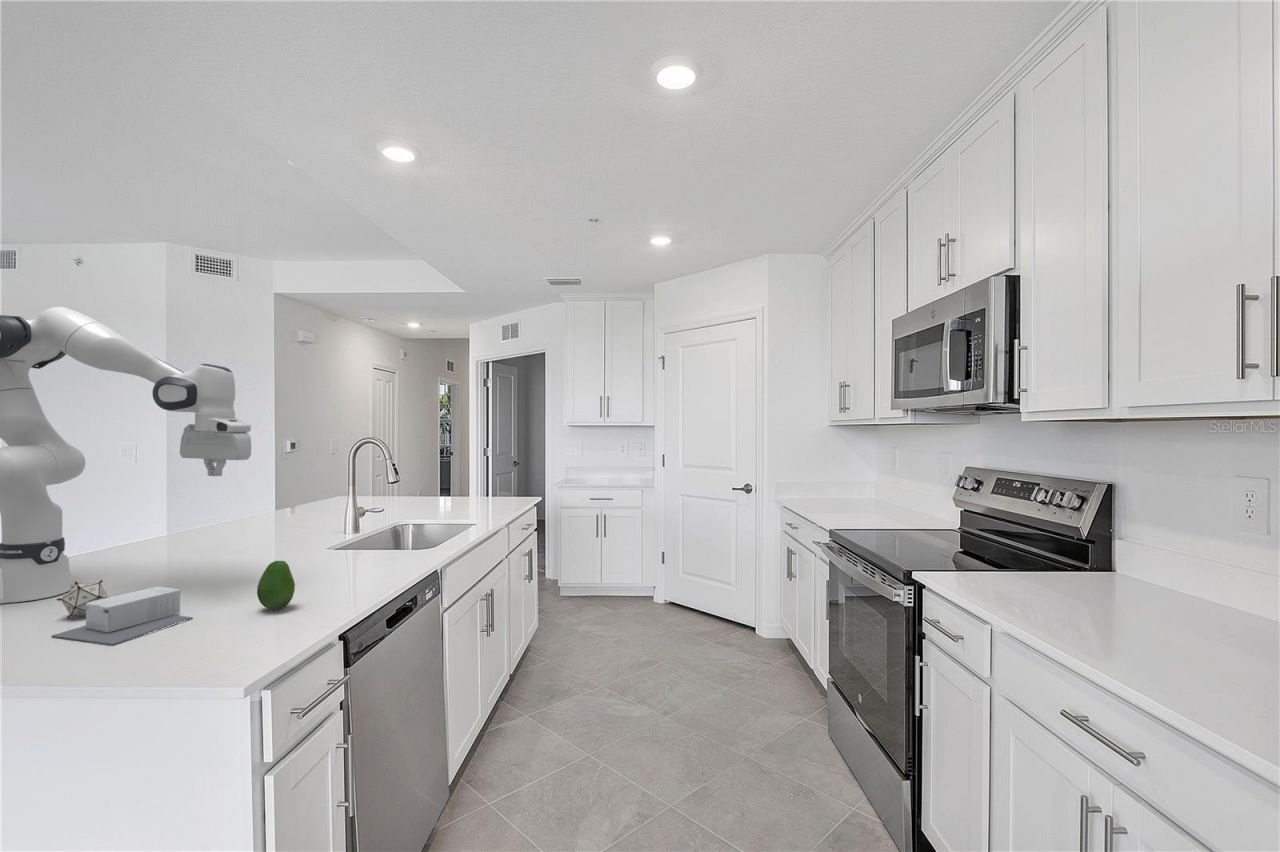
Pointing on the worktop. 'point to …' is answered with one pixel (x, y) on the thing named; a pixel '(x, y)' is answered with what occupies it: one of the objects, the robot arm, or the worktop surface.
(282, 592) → the fruit
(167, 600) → the skincare box
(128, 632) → the mat
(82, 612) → the game die
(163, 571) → the worktop surface
